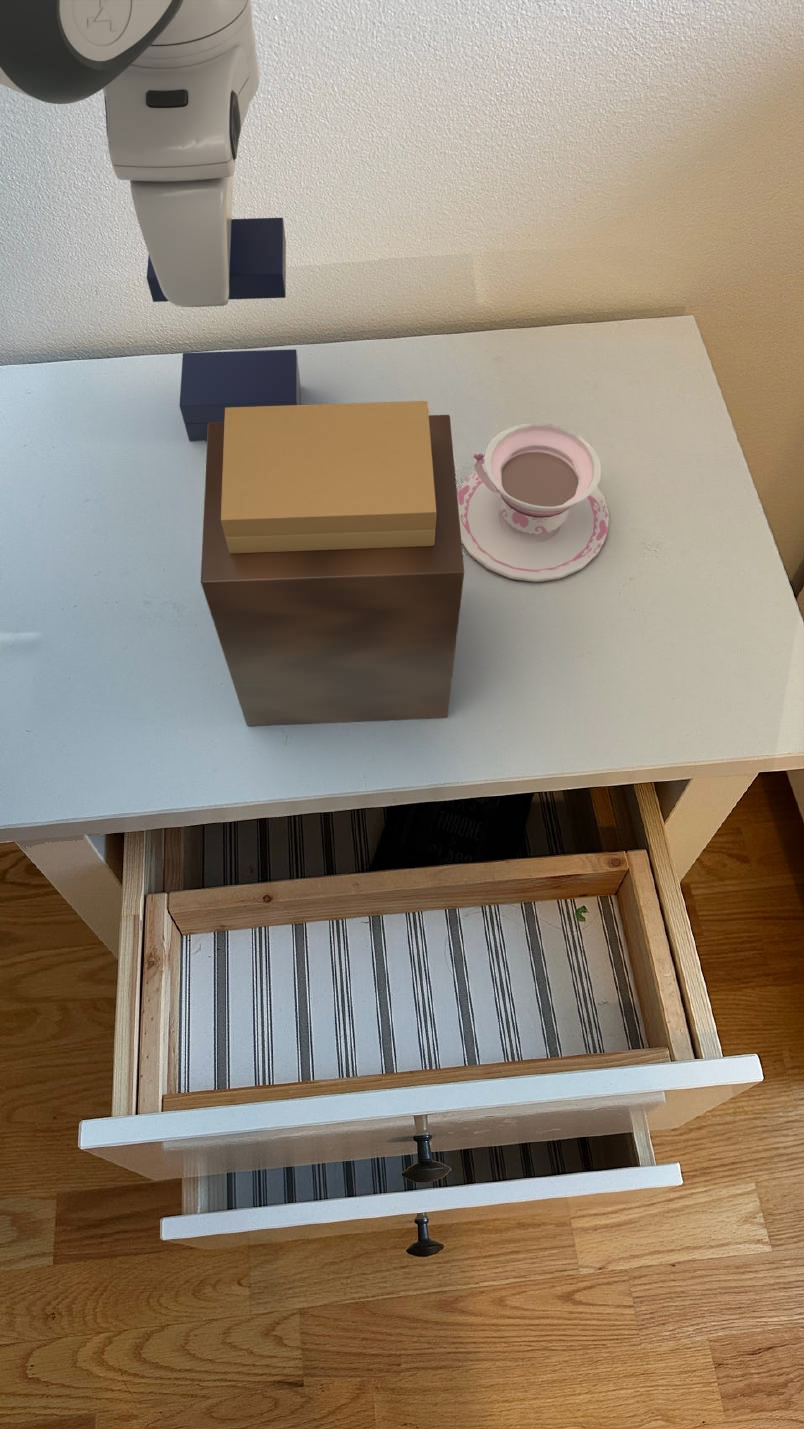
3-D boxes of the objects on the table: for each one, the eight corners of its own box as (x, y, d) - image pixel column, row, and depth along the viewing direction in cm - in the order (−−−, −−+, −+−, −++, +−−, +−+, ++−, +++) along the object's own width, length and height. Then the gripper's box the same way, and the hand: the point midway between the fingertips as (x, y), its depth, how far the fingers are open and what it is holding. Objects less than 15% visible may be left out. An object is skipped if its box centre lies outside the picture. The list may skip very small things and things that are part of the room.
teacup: (622, 478, 77) (640, 424, 72) (588, 601, 72) (604, 553, 67) (476, 442, 79) (482, 386, 73) (433, 560, 74) (436, 509, 68)
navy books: (189, 441, 79) (179, 405, 75) (192, 389, 81) (182, 352, 78) (301, 437, 79) (296, 401, 75) (300, 386, 81) (296, 349, 78)
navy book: (152, 302, 66) (146, 278, 65) (157, 246, 69) (151, 221, 67) (285, 298, 67) (282, 273, 65) (286, 242, 69) (282, 217, 67)
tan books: (229, 554, 52) (220, 519, 50) (232, 445, 56) (224, 407, 53) (434, 546, 53) (436, 512, 50) (425, 438, 56) (427, 400, 53)
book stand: (246, 726, 68) (200, 582, 52) (249, 592, 73) (207, 422, 56) (447, 718, 68) (464, 572, 52) (437, 585, 73) (449, 414, 57)
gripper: (133, -51, 59) (179, 164, 71) (105, 174, 50) (163, 375, 63) (238, -53, 59) (265, 162, 72) (228, 170, 50) (262, 372, 63)
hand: (217, 263), depth 67 cm, fingers closed on navy book, 5 cm apart
